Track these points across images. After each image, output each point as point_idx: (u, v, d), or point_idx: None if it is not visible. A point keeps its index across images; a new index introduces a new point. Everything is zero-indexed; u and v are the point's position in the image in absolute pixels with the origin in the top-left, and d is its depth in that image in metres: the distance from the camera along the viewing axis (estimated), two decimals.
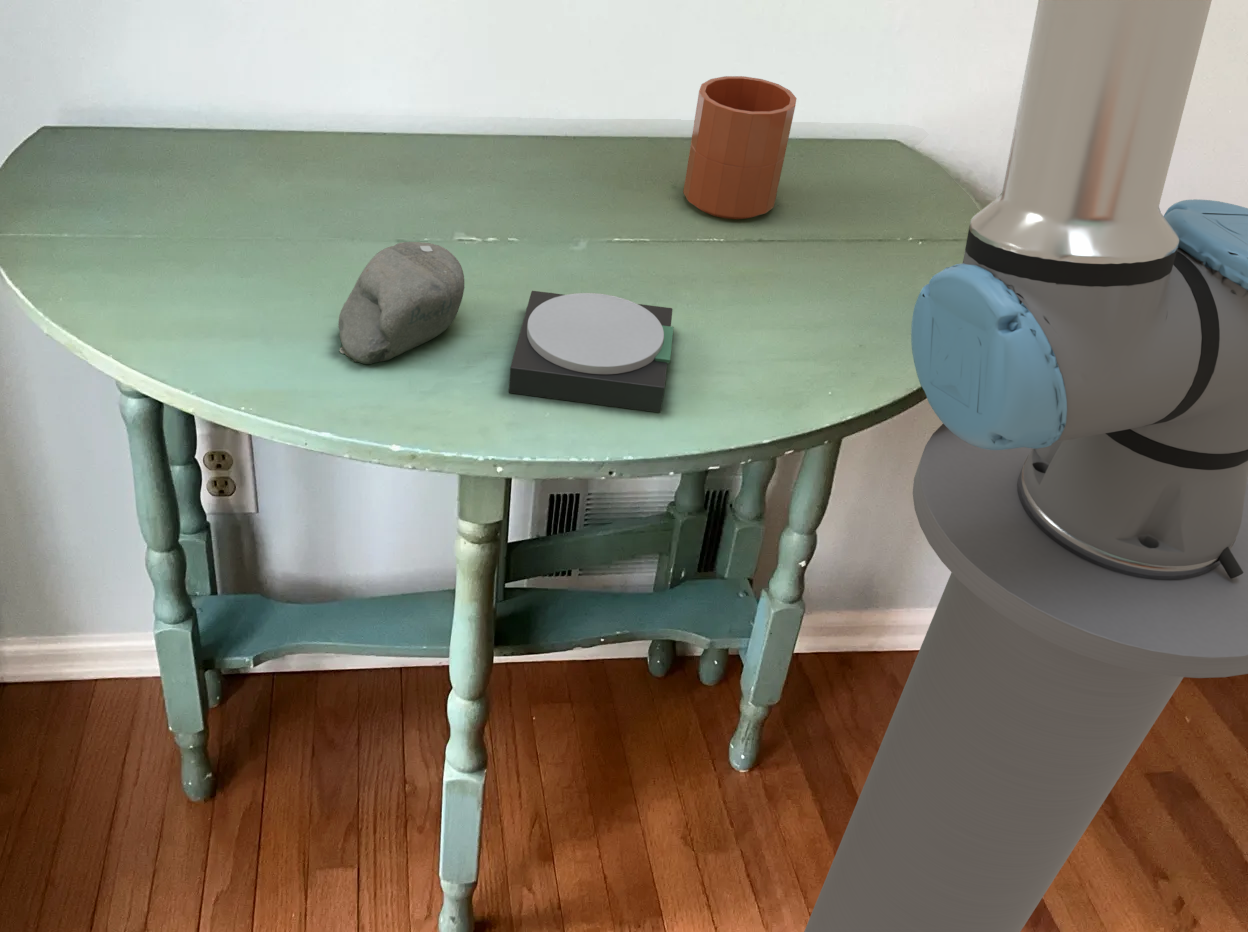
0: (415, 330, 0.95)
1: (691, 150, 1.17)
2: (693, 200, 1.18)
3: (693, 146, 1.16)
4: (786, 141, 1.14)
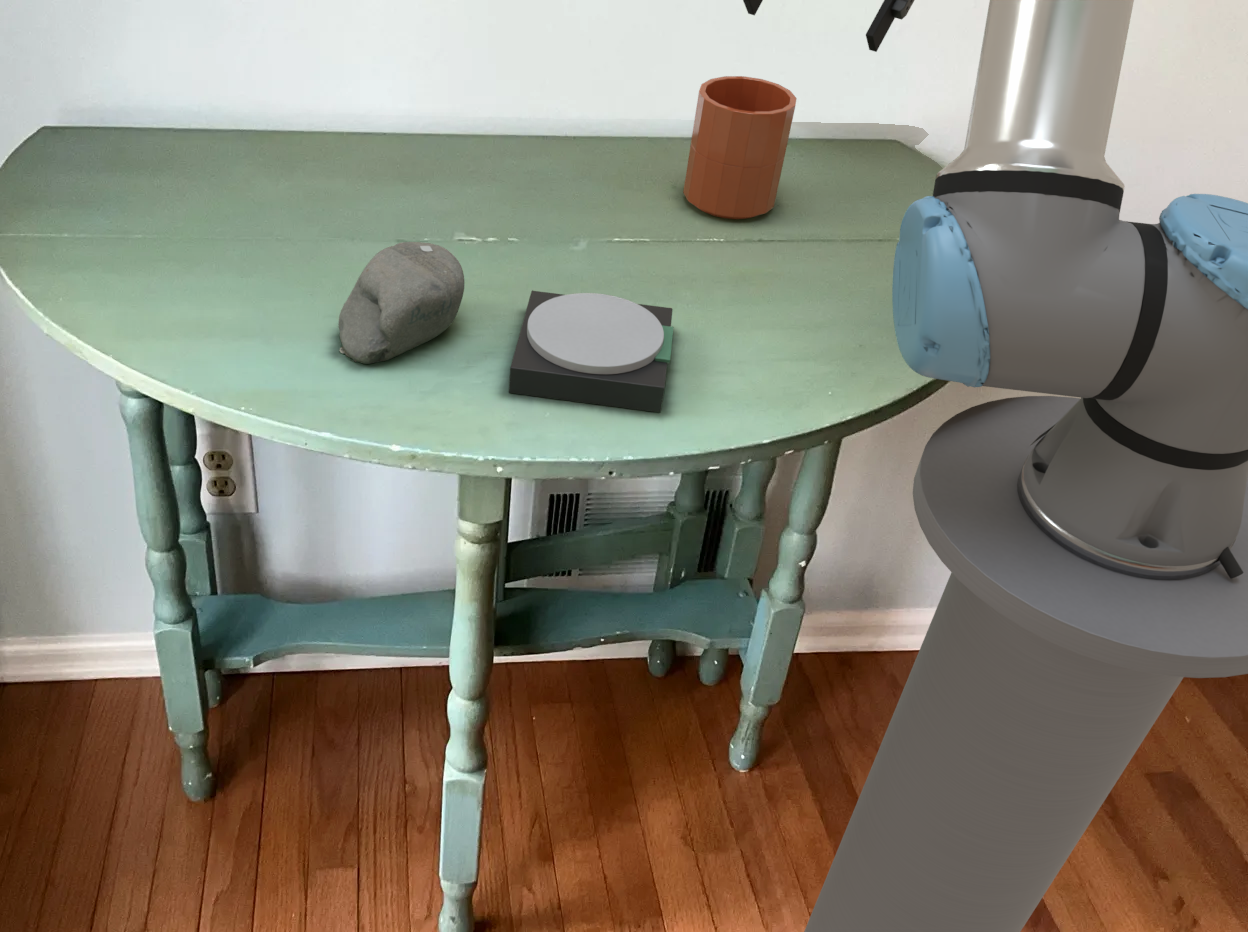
0: (415, 330, 0.95)
1: (691, 150, 1.17)
2: (693, 200, 1.18)
3: (693, 146, 1.16)
4: (786, 141, 1.14)
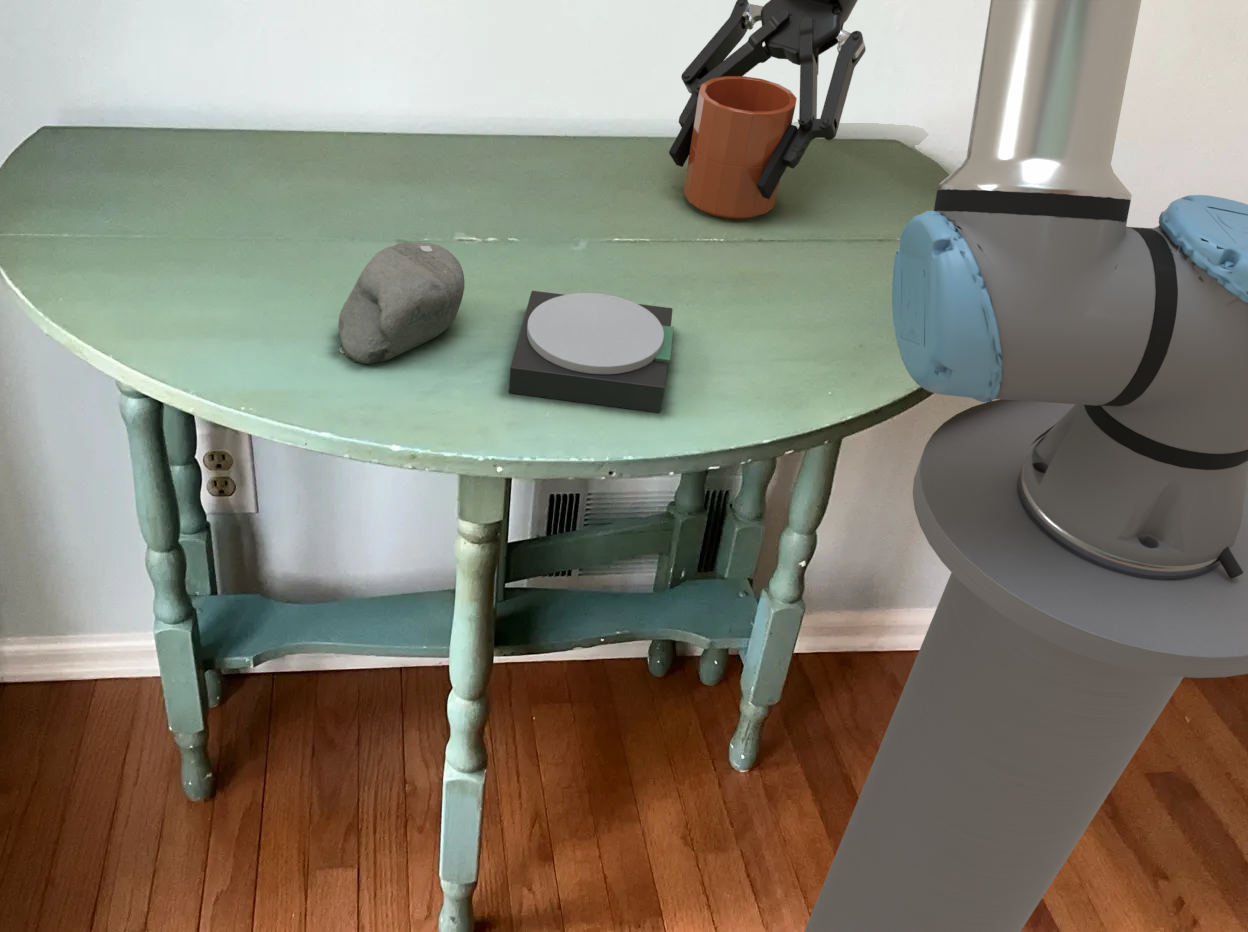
0: (415, 330, 0.95)
1: (691, 150, 1.17)
2: (693, 200, 1.18)
3: (693, 146, 1.16)
4: None
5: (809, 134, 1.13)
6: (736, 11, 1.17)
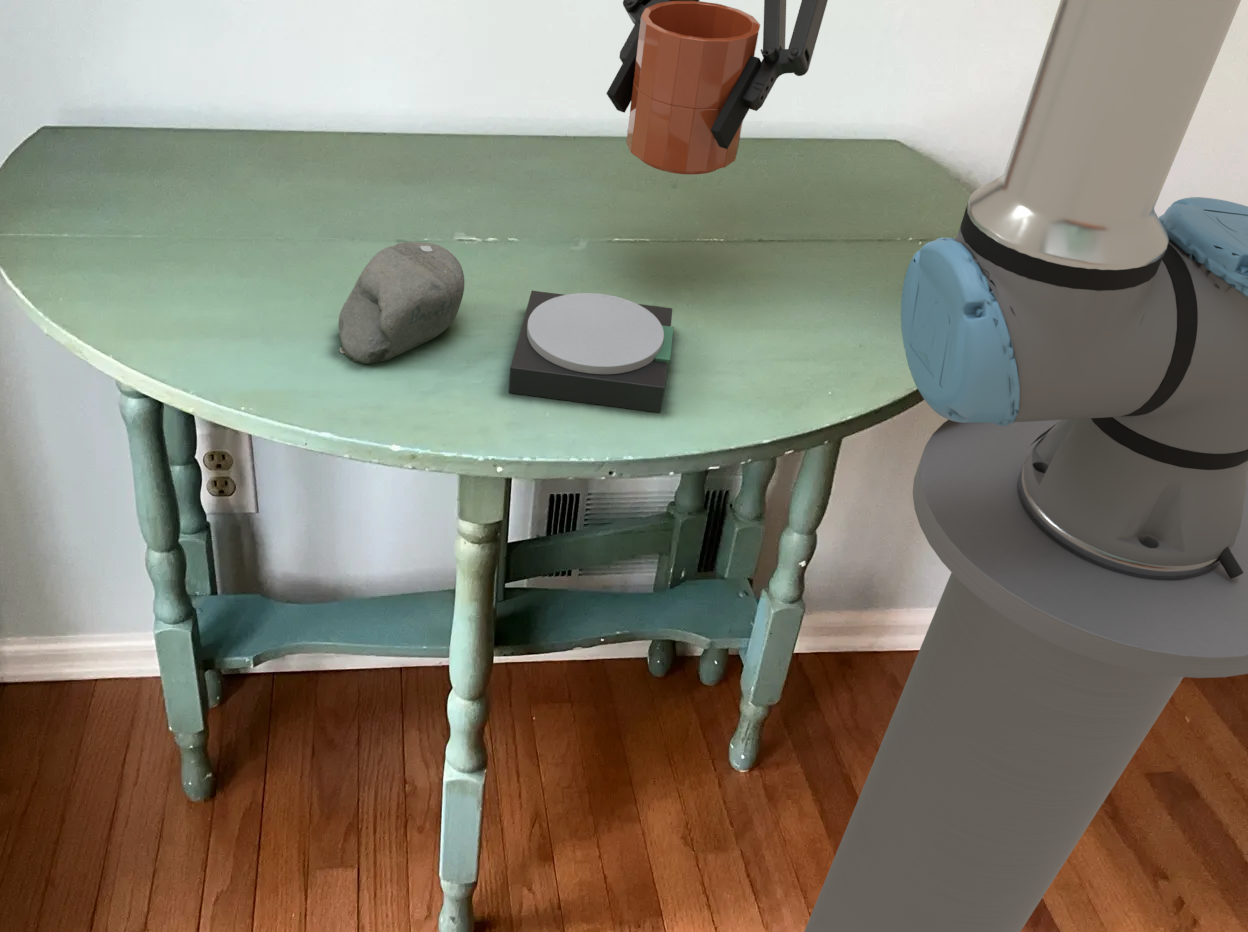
0: (415, 330, 0.95)
1: (634, 90, 0.96)
2: (637, 152, 0.98)
3: (636, 85, 0.96)
4: None
5: (775, 68, 0.92)
6: None
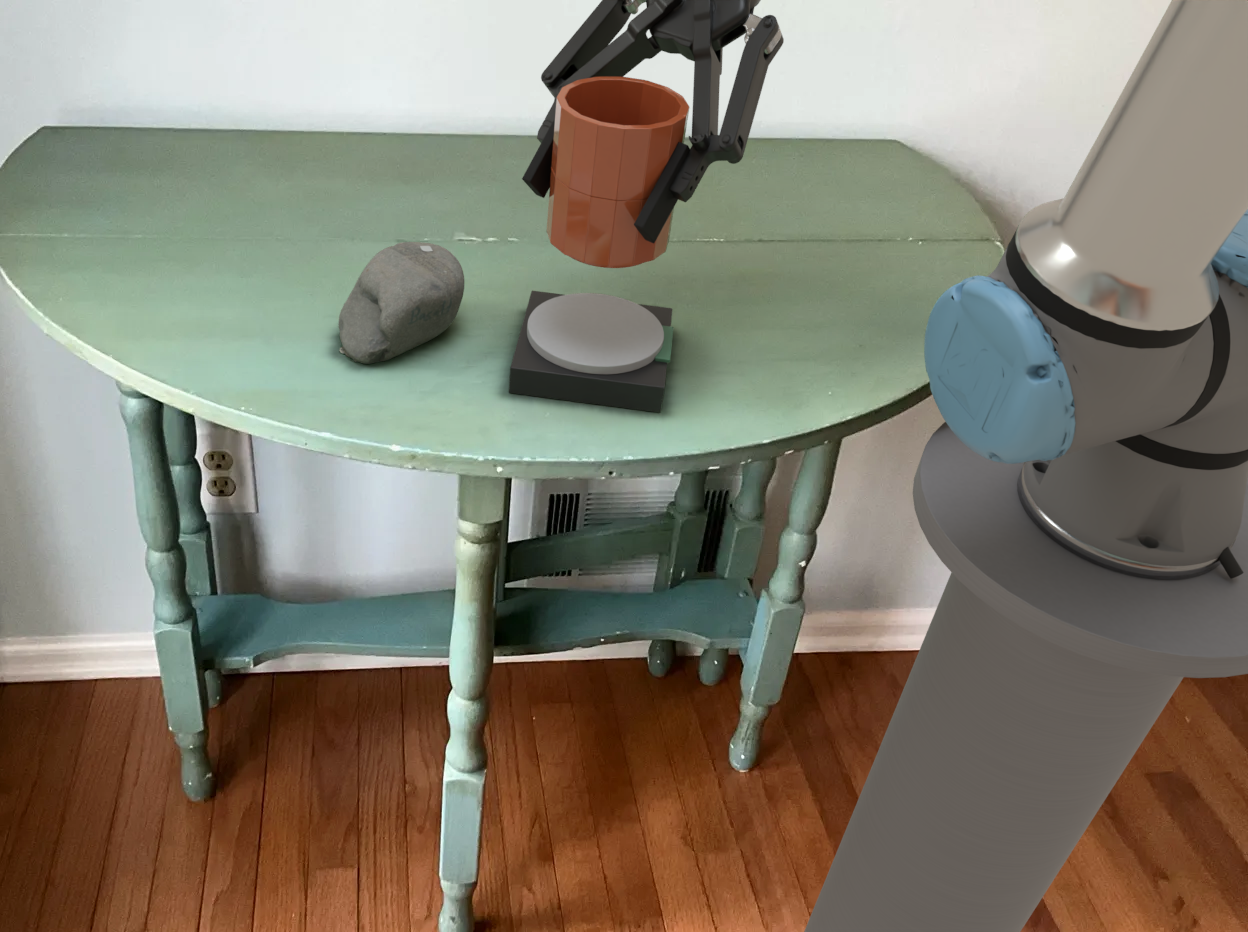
0: (415, 330, 0.95)
1: (552, 176, 0.87)
2: (556, 243, 0.88)
3: (553, 171, 0.86)
4: None
5: (705, 156, 0.83)
6: None
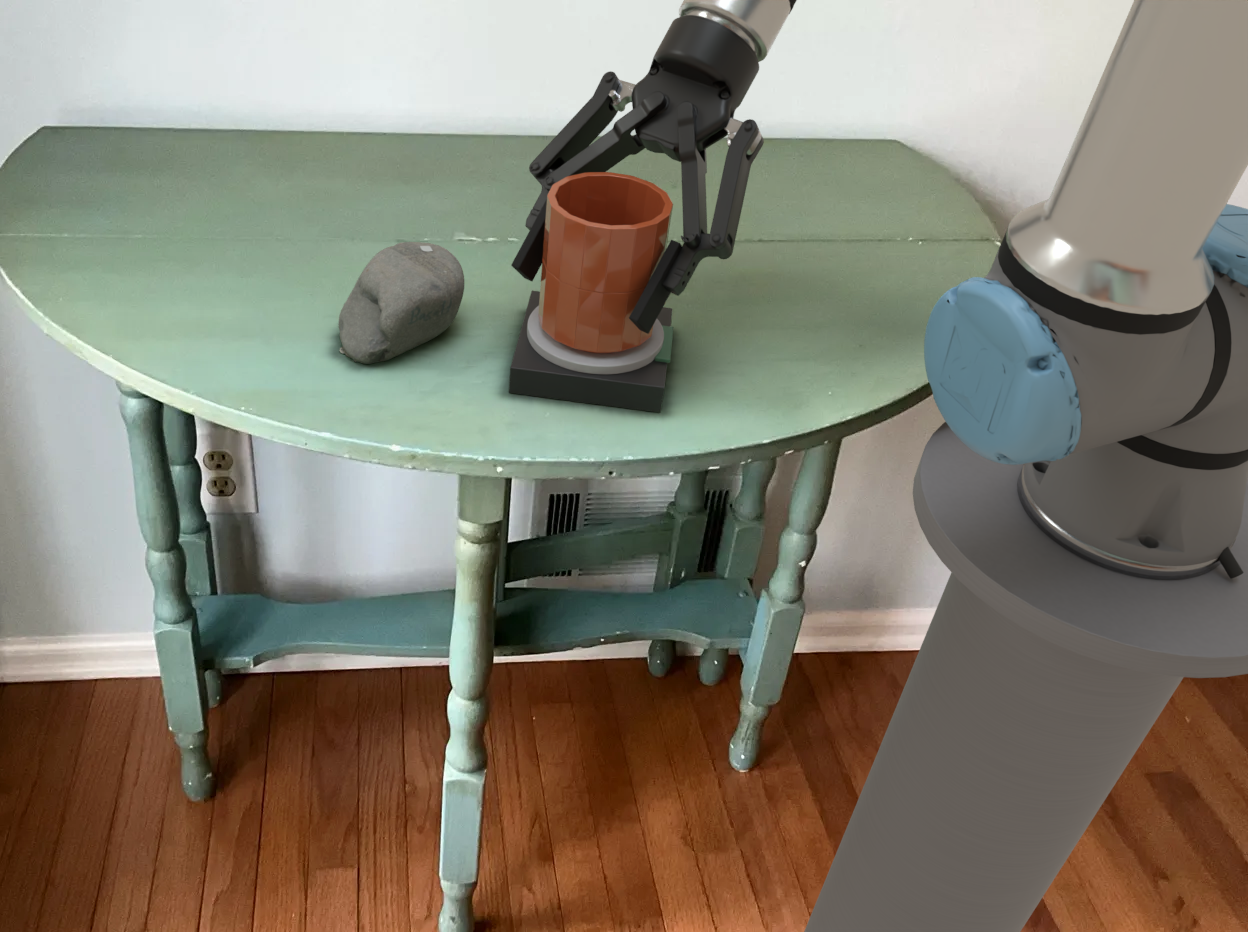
0: (415, 330, 0.95)
1: (543, 267, 0.91)
2: (547, 329, 0.93)
3: (544, 262, 0.91)
4: None
5: (697, 253, 0.87)
6: (602, 89, 0.92)
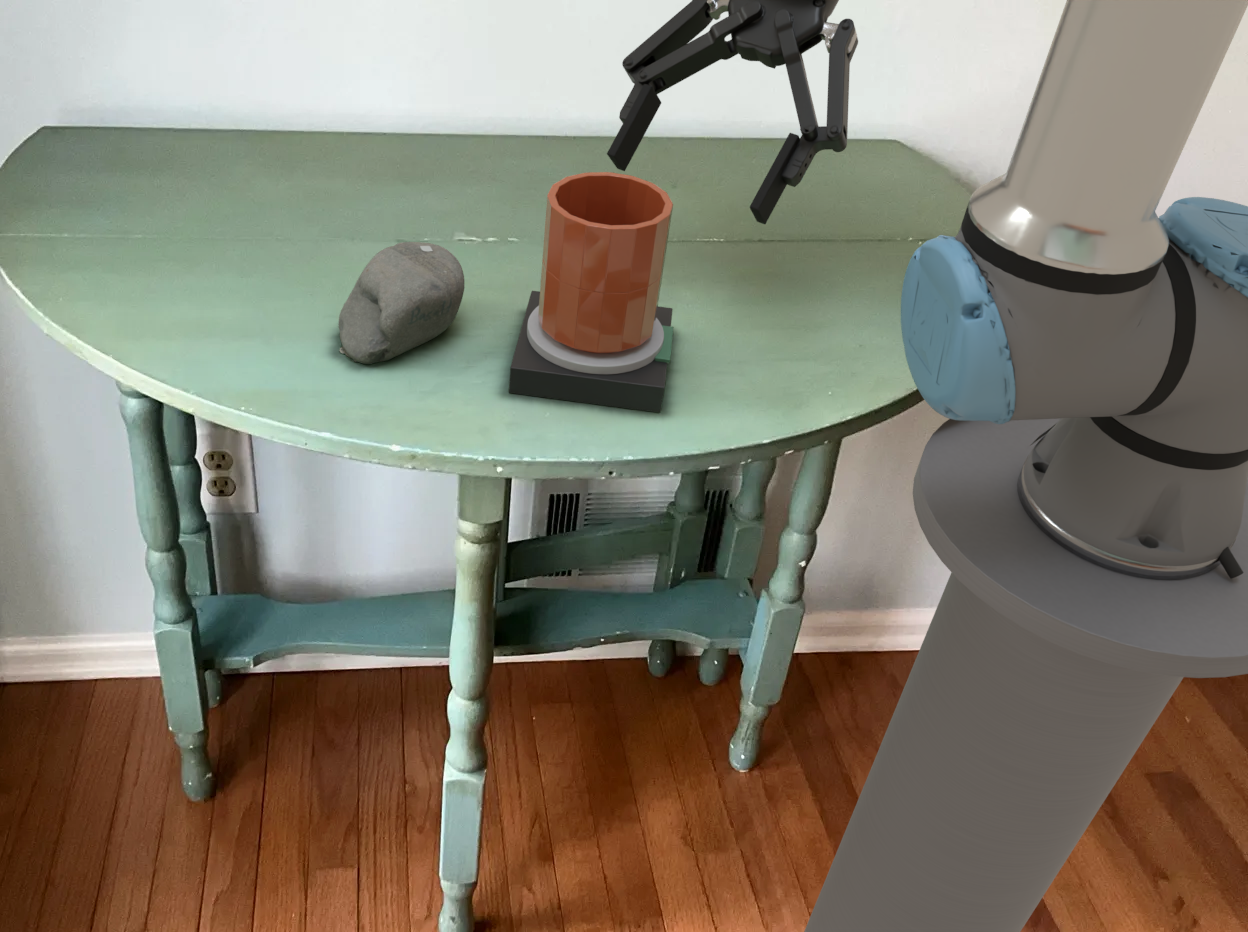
0: (415, 330, 0.95)
1: (543, 267, 0.91)
2: (547, 329, 0.93)
3: (544, 262, 0.91)
4: (661, 258, 0.89)
5: (814, 145, 0.92)
6: None
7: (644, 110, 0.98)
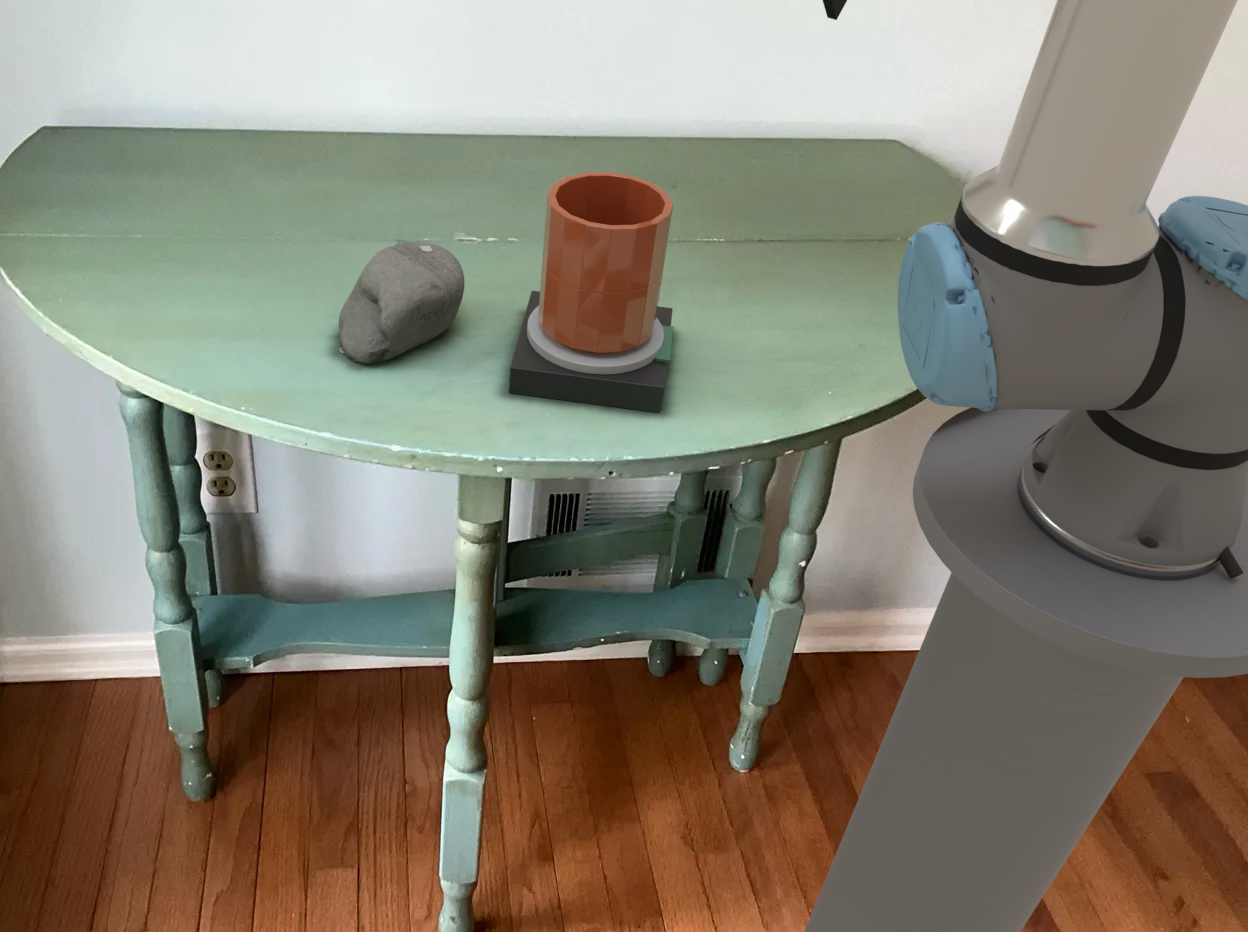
0: (415, 330, 0.95)
1: (543, 267, 0.91)
2: (547, 329, 0.93)
3: (544, 262, 0.91)
4: (661, 258, 0.89)
5: None
6: None
7: None
